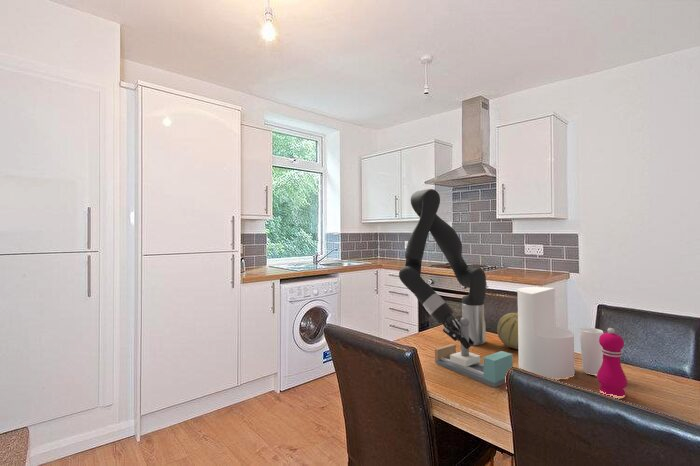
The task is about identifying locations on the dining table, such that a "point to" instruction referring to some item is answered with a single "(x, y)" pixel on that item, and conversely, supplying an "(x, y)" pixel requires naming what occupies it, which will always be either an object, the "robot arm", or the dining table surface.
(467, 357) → the carriage
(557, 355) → the white stepped block
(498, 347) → the dining table surface
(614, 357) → the pepper mill
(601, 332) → the drinking glass
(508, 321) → the cantaloupe
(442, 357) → the rail bed
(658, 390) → the dining table surface
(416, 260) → the robot arm
